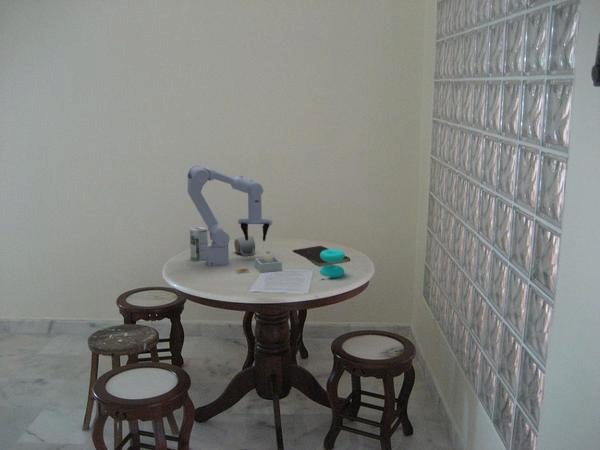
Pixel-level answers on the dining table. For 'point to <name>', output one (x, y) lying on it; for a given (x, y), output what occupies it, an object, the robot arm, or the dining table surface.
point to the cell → (267, 257)
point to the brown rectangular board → (242, 271)
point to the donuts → (332, 256)
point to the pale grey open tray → (268, 265)
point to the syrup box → (198, 243)
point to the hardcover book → (317, 255)
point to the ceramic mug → (245, 246)
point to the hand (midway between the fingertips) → (255, 240)
